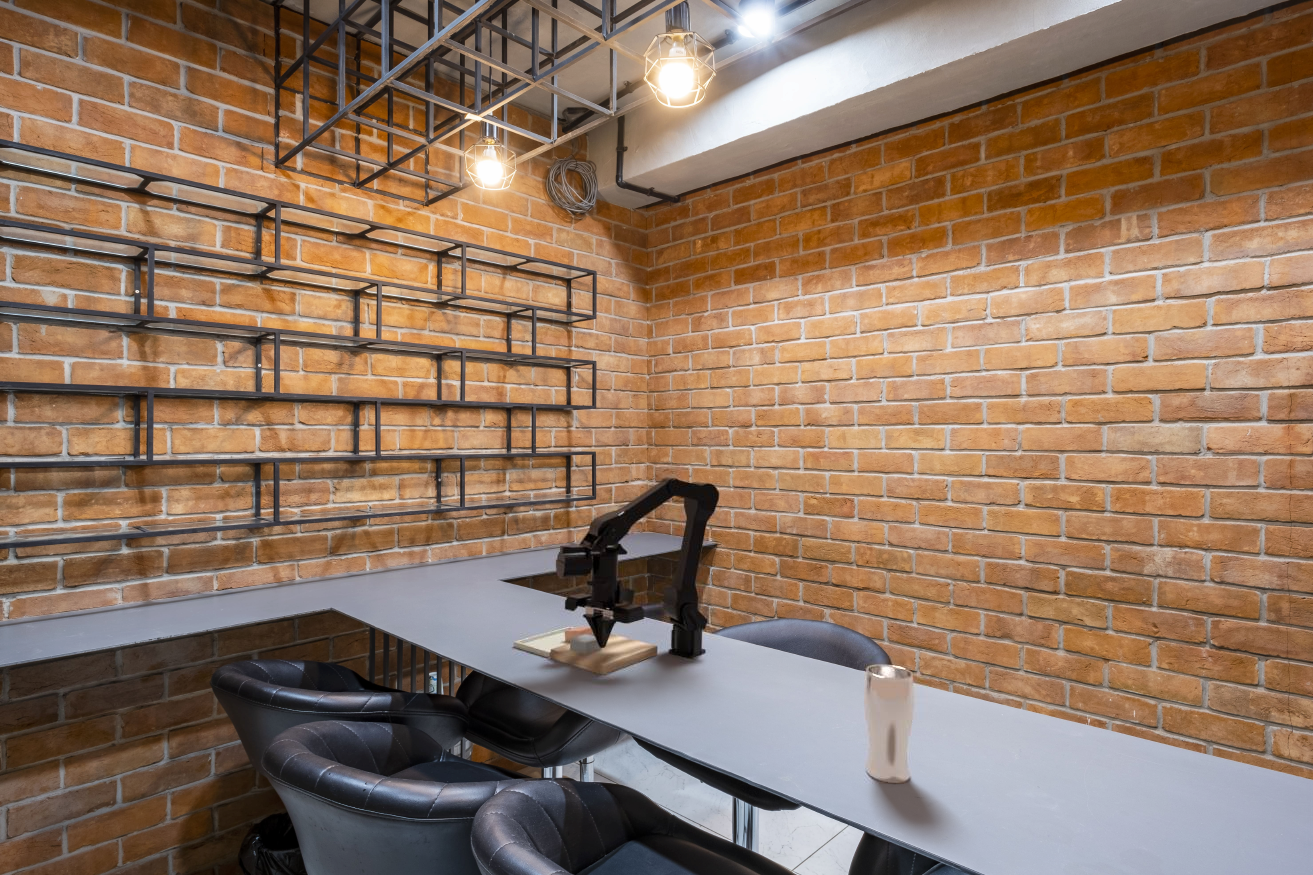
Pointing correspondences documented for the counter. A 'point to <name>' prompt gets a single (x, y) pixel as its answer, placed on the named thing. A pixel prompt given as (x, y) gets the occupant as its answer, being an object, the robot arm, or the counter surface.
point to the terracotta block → (577, 632)
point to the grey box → (584, 644)
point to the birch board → (607, 655)
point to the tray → (543, 642)
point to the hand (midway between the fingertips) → (602, 647)
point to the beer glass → (888, 721)
